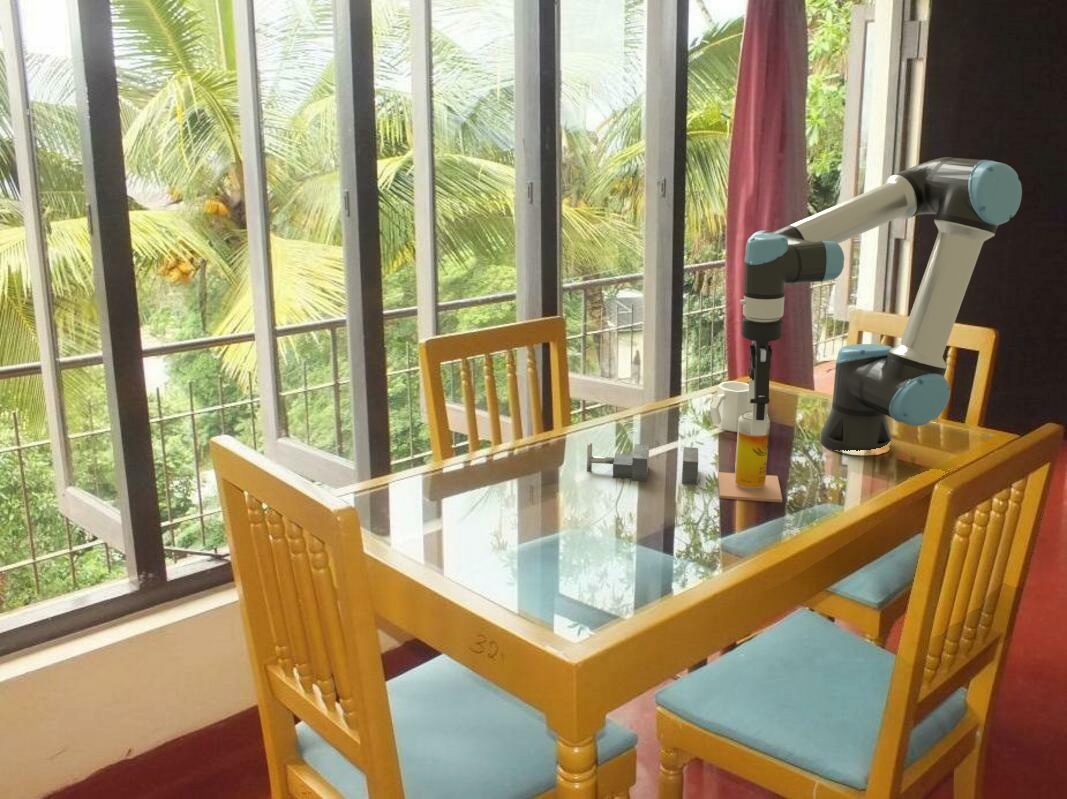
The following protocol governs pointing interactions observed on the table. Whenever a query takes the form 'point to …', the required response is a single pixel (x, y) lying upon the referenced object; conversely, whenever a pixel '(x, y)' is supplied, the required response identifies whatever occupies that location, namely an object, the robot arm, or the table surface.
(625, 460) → the vise
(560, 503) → the table surface
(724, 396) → the mug
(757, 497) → the coaster
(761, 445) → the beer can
